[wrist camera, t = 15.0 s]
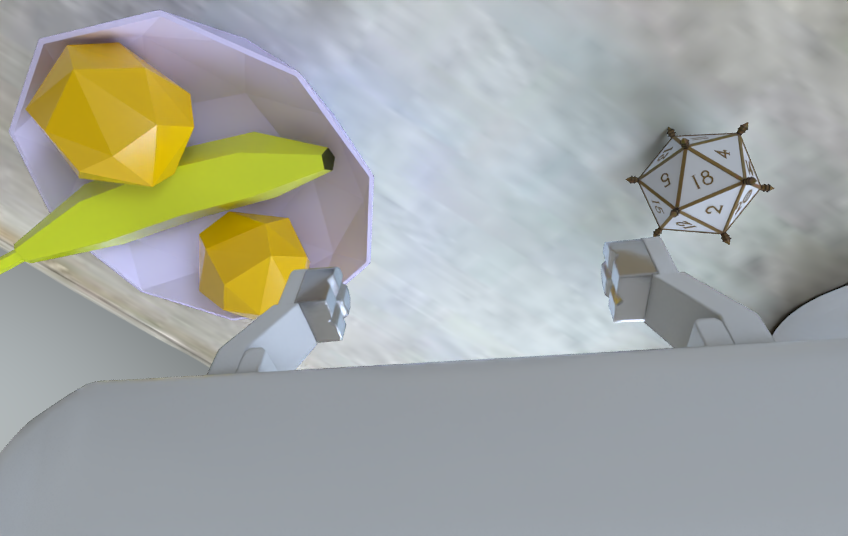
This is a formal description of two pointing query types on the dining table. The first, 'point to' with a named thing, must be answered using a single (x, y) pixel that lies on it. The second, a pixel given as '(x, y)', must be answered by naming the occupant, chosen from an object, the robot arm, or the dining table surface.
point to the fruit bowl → (187, 164)
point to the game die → (700, 183)
